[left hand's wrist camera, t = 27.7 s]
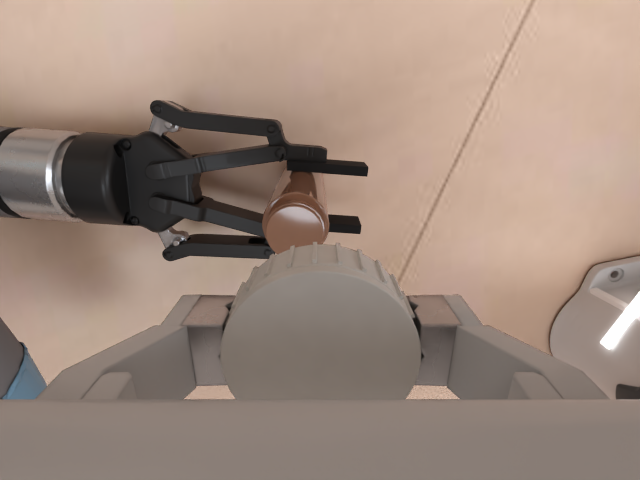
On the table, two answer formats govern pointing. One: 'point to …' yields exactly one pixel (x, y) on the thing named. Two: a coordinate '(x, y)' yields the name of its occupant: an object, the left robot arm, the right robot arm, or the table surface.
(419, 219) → the table surface
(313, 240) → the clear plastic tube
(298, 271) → the lid
